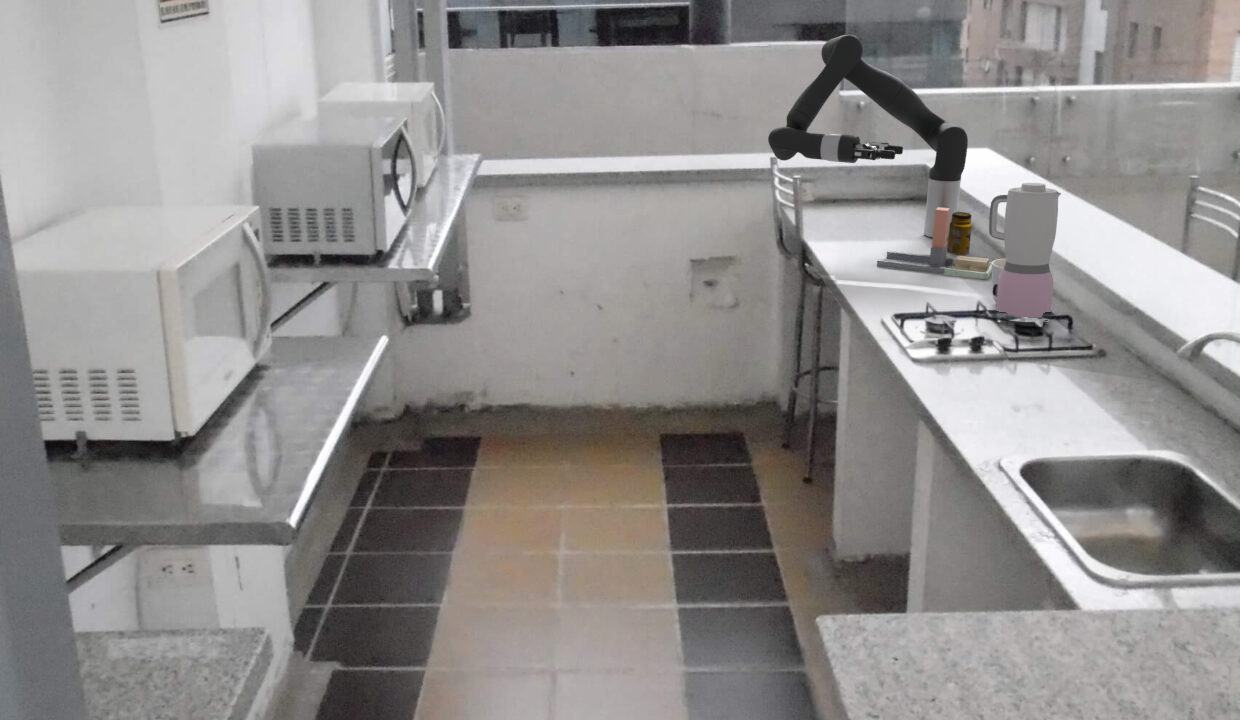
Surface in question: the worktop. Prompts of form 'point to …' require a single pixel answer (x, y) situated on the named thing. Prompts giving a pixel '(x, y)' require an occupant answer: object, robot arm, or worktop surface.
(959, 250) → the condiment
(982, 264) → the chip
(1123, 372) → the worktop surface
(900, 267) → the slot board
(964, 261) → the wooden cube
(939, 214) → the pink and grey block
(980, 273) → the tray
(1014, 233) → the blender
